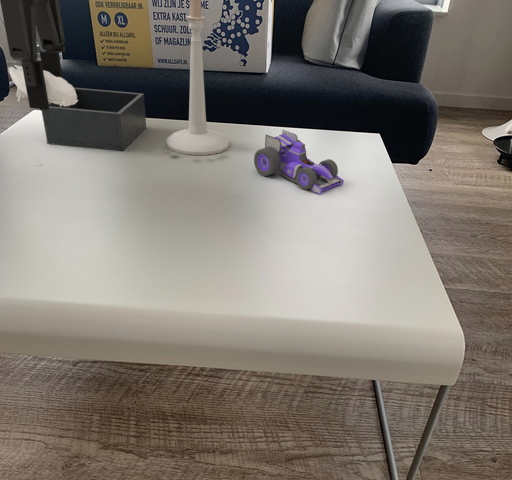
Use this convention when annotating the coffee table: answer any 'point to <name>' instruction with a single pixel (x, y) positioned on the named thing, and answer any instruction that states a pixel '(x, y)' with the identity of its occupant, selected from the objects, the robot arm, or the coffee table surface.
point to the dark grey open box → (96, 120)
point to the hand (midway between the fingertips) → (48, 102)
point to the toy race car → (295, 163)
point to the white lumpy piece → (55, 87)
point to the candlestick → (197, 101)
